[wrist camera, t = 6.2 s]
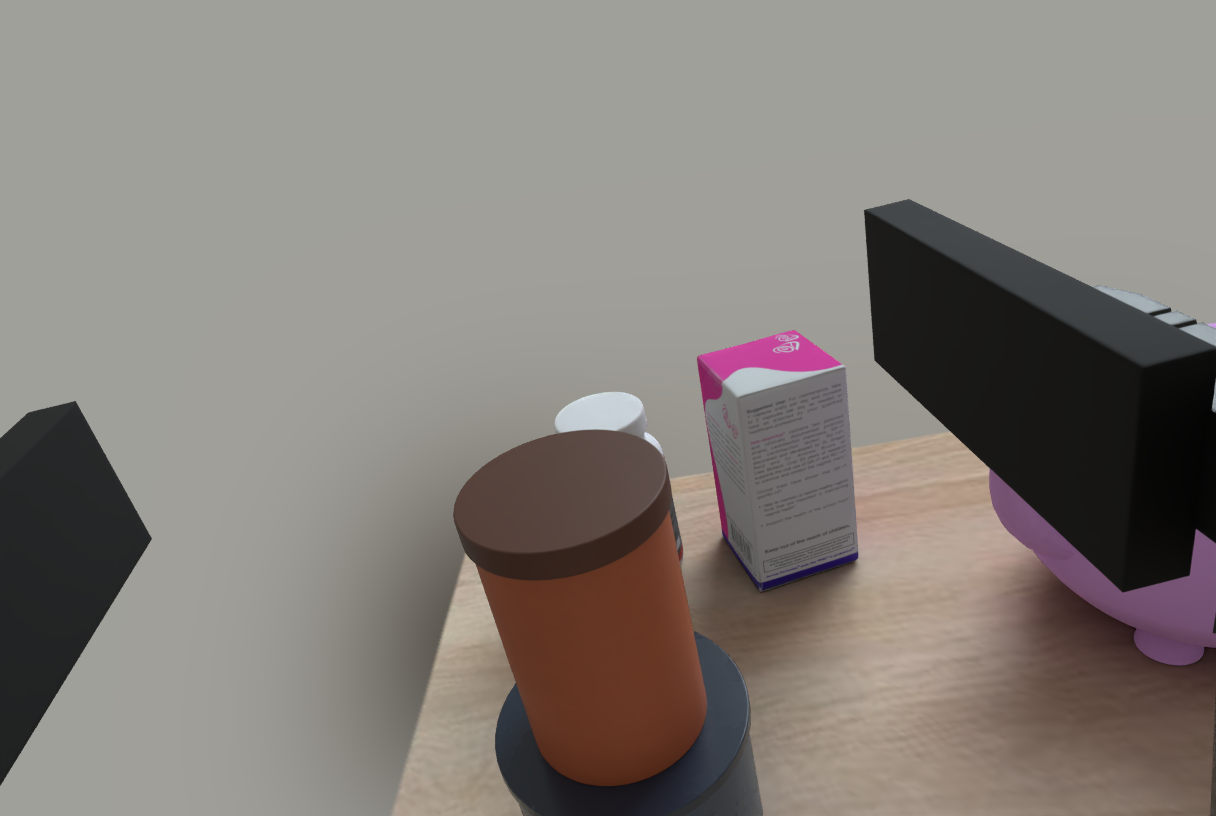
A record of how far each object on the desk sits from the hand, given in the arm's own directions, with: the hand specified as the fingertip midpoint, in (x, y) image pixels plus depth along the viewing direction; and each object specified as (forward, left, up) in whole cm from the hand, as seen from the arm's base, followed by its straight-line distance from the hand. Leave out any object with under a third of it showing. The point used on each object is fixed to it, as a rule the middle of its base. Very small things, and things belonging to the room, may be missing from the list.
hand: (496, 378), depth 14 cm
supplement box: (+20, +17, -24) cm, 36 cm away
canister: (+4, +9, -18) cm, 21 cm away
